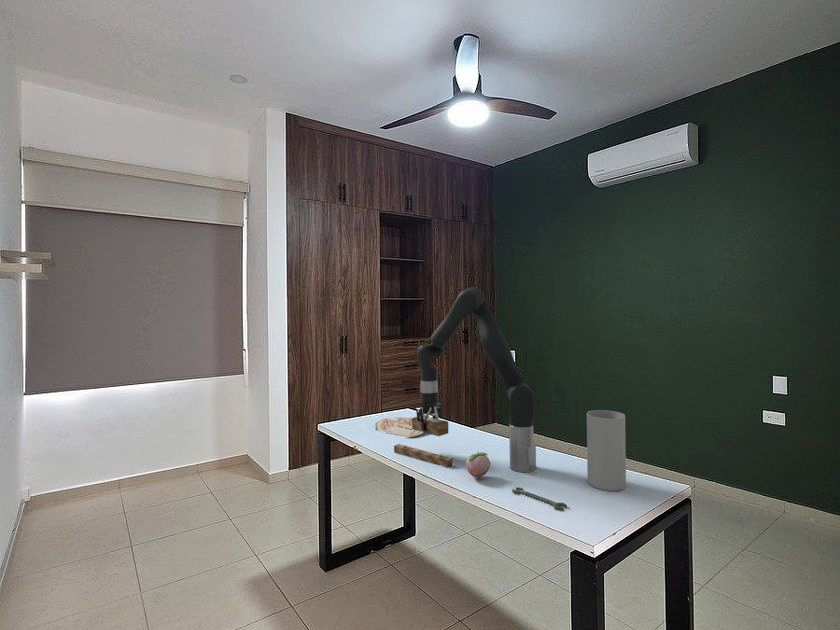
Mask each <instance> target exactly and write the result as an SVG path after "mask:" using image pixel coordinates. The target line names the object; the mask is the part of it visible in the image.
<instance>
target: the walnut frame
mask: <svg viewBox="0 0 840 630" xmlns="http://www.w3.org/2000/svg"><path fill="white" fill-rule="evenodd" d="M411 418H412V429H414V430H417V431H421V432H423V433H424V434H428V435H433V436H435V437H436V436H437V437H442V436H445V435H448V434H449V421H448V420H444V419H440V418H439V419H435V418H433V417H432V416H429V417H428V418H427V421H426V423H427V431H426V432H424V431H422V429H421V428H422V426H421V422H419V421H417V416H414V417H411ZM424 418H425V417H424Z"/></svg>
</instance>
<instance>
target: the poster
mask: <svg viewBox="0 0 840 630" xmlns="http://www.w3.org/2000/svg"><path fill="white" fill-rule="evenodd" d="M412 418H413V417H403V416H402V417H386V418H382V419H381V420H378V421H376V422H375V431H376V432H379V431H383V432H382V433H384V432H387V433H386V434H388V433H390V434H389V435H393V434H394V435H393V436H398V435H399V437H402V436H403V437H402V438H405V439H409V438H413V437H416V436H419V435H422V434H424V432H421V431H417V430H414V429H412ZM377 430H378V431H377Z"/></svg>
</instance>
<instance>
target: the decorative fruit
mask: <svg viewBox="0 0 840 630" xmlns="http://www.w3.org/2000/svg"><path fill="white" fill-rule="evenodd" d="M488 456H489V454H488V453H487V452H484V451H483V452H482V451H481V452H479V451H477V453H473V454H471V455H469V456H468V457H467V458H466V462H465V466H466V469H467V471H468V473H469V475H471V476H472V477H474V478H476V479H480V478H482V477H484V476H485V475H486V474H487V473H488V472H489V470H490V468H491V460H490V458H489V457H488Z"/></svg>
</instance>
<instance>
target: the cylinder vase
mask: <svg viewBox="0 0 840 630" xmlns="http://www.w3.org/2000/svg"><path fill="white" fill-rule="evenodd" d="M586 444H587V445H586V448H587V449H586V451H587V452H586V453H587V455H586V457H587V458H586V459H587V464H586V465H587V483H588V484H589V485H590V486H591V487H593V488H595V489H598V490H602V491H606V492H618V491H622V490H624V489H625V488H626V486H627V475H626V473H627V471H626V469H627V467H626V466H627V465H626V464H627V462H626V461H627V459H626V458H627V457H626V453H627V451H626V448H627V447H626V445H627V444H626V415H625V414H624V413H622V412H619V411H614V410H603V409H596V410H589V411H587V412H586Z"/></svg>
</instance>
